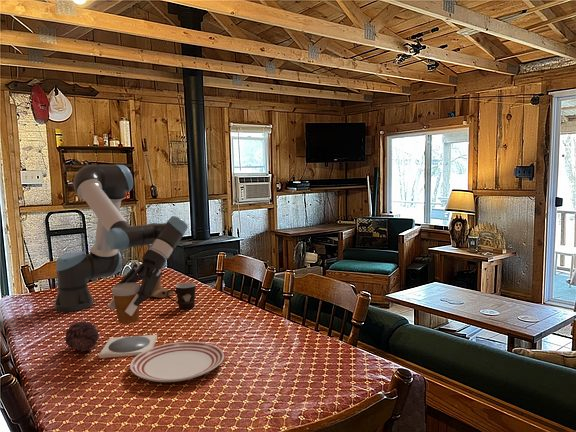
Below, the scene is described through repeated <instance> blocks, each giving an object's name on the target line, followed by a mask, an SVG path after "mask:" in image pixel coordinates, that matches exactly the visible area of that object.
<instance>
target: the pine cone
mask: <svg viewBox="0 0 576 432" xmlns="http://www.w3.org/2000/svg"><path fill="white" fill-rule="evenodd" d="M99 336H100V334H99V331H98V329H97V327H96V326H95V325H94V324H93V323H91V322H90V321H76V322H75V323H71V324H69V327H68V329H67V330H66V331H65V338H64V339H65V344H66V345H67V347H68V348H70V349H76V350H78V351H82V352H83V351H84V352H85V351H88V350H91V349H92V348H94V347H95V346H96V345H97V343H98V340H99Z"/></svg>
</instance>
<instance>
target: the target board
mask: <svg viewBox="0 0 576 432" xmlns="http://www.w3.org/2000/svg"><path fill="white" fill-rule="evenodd" d="M157 339H158V334H149V335H148V334H147V335H133V336H118V337H110V338H109V339H108V340H107V341H106V344H105V345H104V346H103V348H102V350H100V352H99V354H98V359H103V358H118V357H129V356H132V357H133V356H137V355H139V354H140V353H142V352H144V351H146V350H148V349H151V348H154V347H155V345H156V343H157Z"/></svg>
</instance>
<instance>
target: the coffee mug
mask: <svg viewBox="0 0 576 432" xmlns="http://www.w3.org/2000/svg"><path fill="white" fill-rule="evenodd" d="M196 285H197V284H196V283H195V282H181V283H178V284H175V289H169V291H167V297H166V298H168V299H170V300H171V301H173V302H175V303H177V305H178V309H179V310H180V311H190V310H192V309H193V310H194V308H195V303H196V302H195V301H196V289H197V288H196V287H197V286H196ZM170 291H174V293H175V294H176V297H177V298H176V299H177V300H175V299H174V298H171V297H170V295H169V296H168V292H170Z"/></svg>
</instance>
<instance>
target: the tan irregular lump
mask: <svg viewBox="0 0 576 432" xmlns="http://www.w3.org/2000/svg"><path fill="white" fill-rule="evenodd" d="M159 270H160V271H161V272H162V268H161V269H159ZM142 280H143V278H142V279H141V281H142ZM169 290H170V289H168V288H166V287H163V286H162V275H161V276H160V277H159V279H158V281H157V284H156V286H155V288H154V290H153V292H152V295H151V297H154V298H159V299H160V298H162V299H163V298H168V297H167V291H169ZM148 293H149V292H148ZM174 293H175V292H174V291H170V292H168V296H169V297H170V296H171V295H173V294H174Z"/></svg>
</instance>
